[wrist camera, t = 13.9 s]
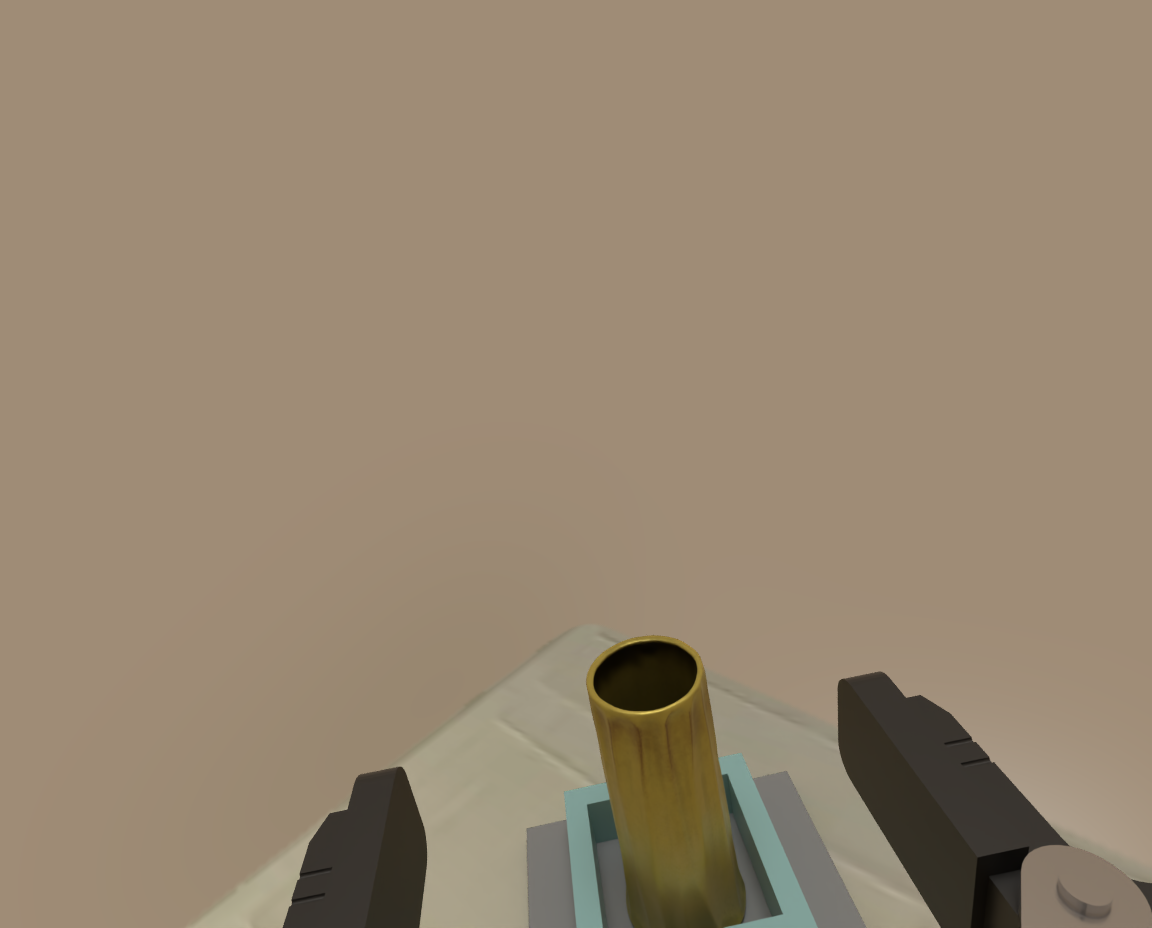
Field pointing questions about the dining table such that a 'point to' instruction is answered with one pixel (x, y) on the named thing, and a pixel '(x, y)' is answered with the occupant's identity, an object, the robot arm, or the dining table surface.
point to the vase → (665, 785)
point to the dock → (762, 845)
